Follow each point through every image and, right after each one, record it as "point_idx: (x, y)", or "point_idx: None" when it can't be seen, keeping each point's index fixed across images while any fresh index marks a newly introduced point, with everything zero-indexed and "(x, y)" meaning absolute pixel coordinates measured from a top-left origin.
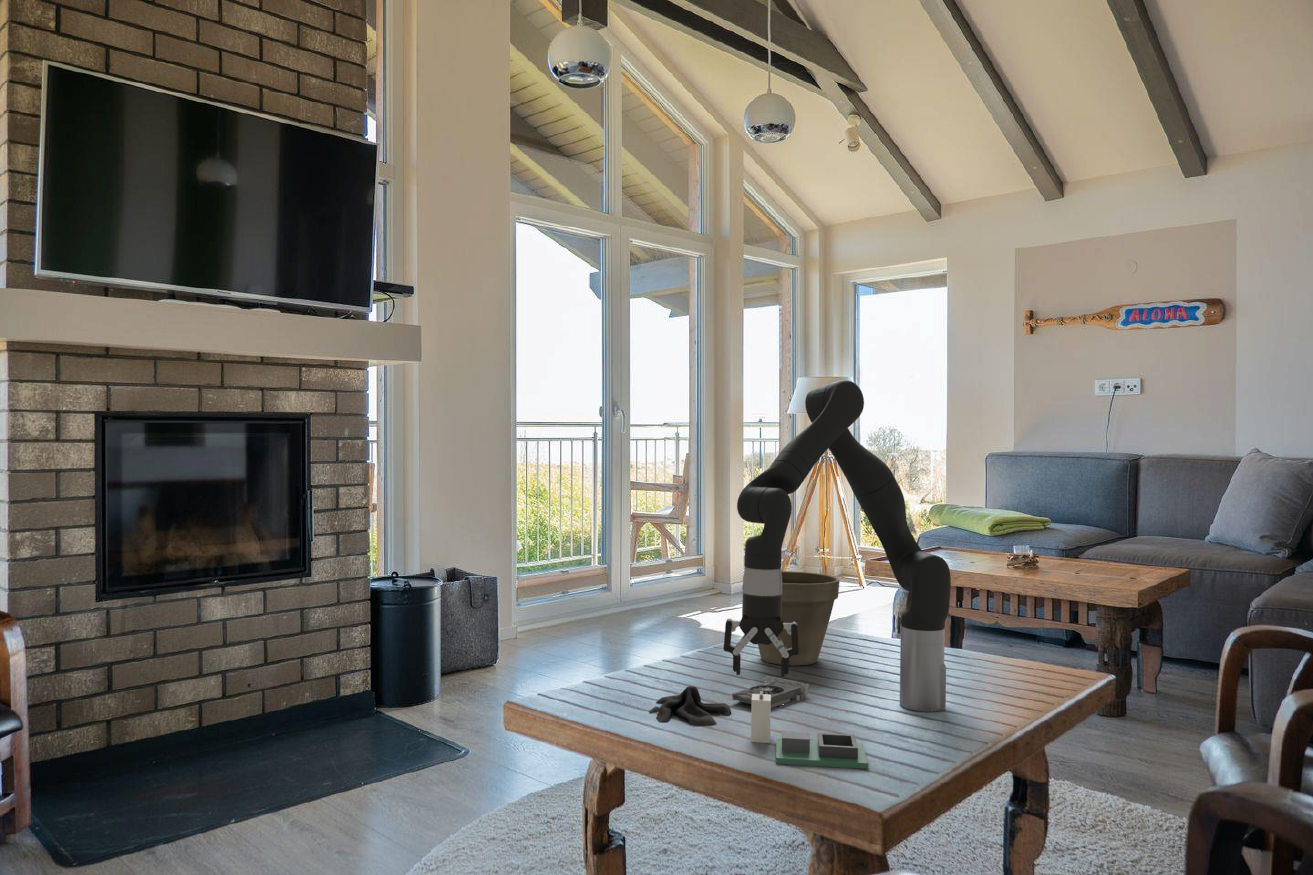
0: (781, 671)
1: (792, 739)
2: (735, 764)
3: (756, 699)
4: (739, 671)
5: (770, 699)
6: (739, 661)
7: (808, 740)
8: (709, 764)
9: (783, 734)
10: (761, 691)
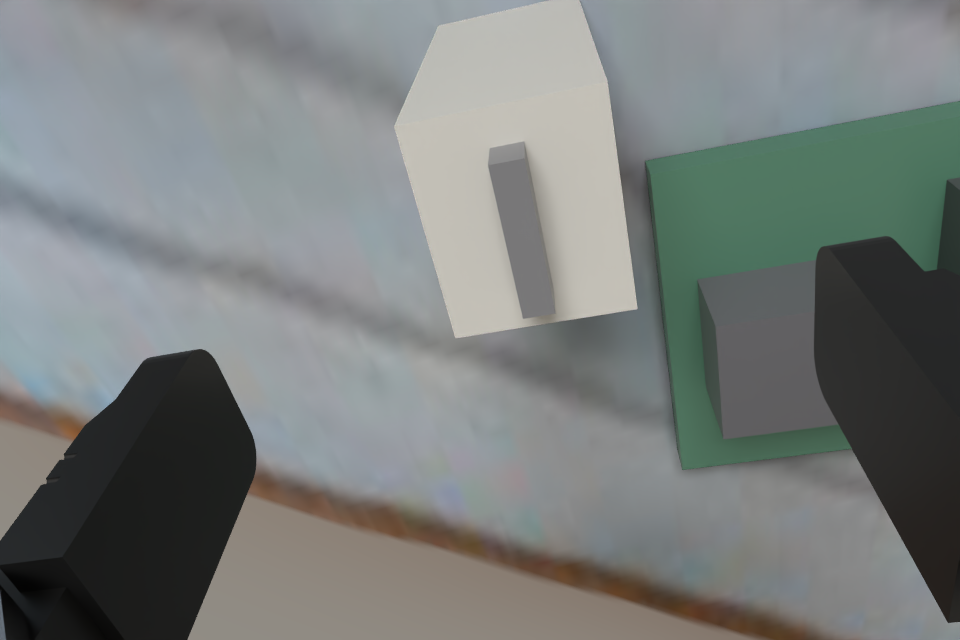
0: (850, 439)
1: (789, 425)
2: (492, 504)
3: (496, 313)
4: (242, 494)
5: (629, 265)
6: (190, 612)
7: None
8: (384, 532)
9: (730, 383)
10: (510, 181)
